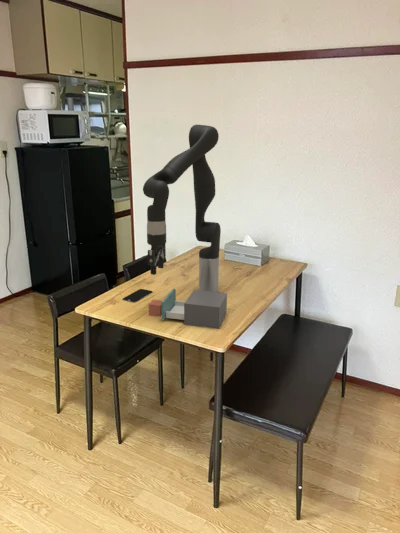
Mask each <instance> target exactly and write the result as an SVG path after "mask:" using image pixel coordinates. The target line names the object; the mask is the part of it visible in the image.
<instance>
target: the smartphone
mask: <svg viewBox="0 0 400 533" xmlns="http://www.w3.org/2000/svg"><path fill="white" fill-rule="evenodd" d="M152 293H154V291H152V290H150V289H144V288H139V289H137V290H136V291H133V292H132V293H130V294H128V295H126V296H124V297H123V298H122V301H124V302H129V303H133V304H134V303H135V304H137V302H140V301H141V300H143V299H144V298H146V297H148V296H151V294H152Z"/></svg>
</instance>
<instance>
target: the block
mask: <svg viewBox="0 0 400 533" xmlns="http://www.w3.org/2000/svg"><path fill="white" fill-rule="evenodd" d="M162 301H163V300H159V299H152V300H151V301H150V302H149V303H148V316H153V317H159V316H160V317H161V318H162V310H161V302H162Z"/></svg>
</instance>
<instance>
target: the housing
mask: <svg viewBox="0 0 400 533" xmlns="http://www.w3.org/2000/svg"><path fill="white" fill-rule="evenodd" d="M185 301H186V302H185V303H184V320H183V323H184V326H185V325H187V326H195V327H202V328H203V327H204V328H210V329H220V328H221V326H222V323H223V321H224V319H225V317H226V314H227V312H228V311H227V310H228V309H227V307H228V306H227V304H228V293H227V292H220V291H218V292H211V291H201V290H199V289H194V290H193V291H192V292H191V294H190V295H189V296H188V298H187V299H186V300H185Z"/></svg>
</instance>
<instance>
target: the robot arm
mask: <svg viewBox="0 0 400 533" xmlns="http://www.w3.org/2000/svg"><path fill="white" fill-rule="evenodd" d="M219 137H220V136H219V131H218V130H217V128H216V127H215V126H212V125H206V124H193V125H192V126H191V127H190V128H189V132H188V143H189V148H188V149H185V151H182V152H181V153H179V154H177V155H175V156H174V157H172V158H171V159H170V160H169V161H168V162H167V164H166V165H165V166H163V168H162V169H160V170H159V171H157V172H156V173H154V174H153V175H152V176H150V177H149V178H148V179H147V180H146V181H145V182H144V185H143V186H142V187H143V188H142V192H143V195H144V196H146V197H147V198H149V199H150V198H151V199H153V200H152V204H150V205H148V206H147V211H146V212H147V213H146V218H147V219H146V220H147V221H146V222H147V223H146V241H147V242H146V243H147V244H148V245H150V246H151V247H150V249H148V250H147V266H150V270H149V271H150V275H153V276H155V275H157V268H158V269H164V266H165V264H164V263H165V262H164V260H165V257H166V249H167V248H166V244H167V224H166V223H167V222H166V221H167V220H166V209H167V205H168V201H169V197H170V189H169V188H170V187H169V185H173V184H174V183H176V182H177V181H178V180H179V179H180V178H181V176H182V175H183V174H184V173H185V172H186V171H187V170H188V169H189V168H190V167H191V166H192V174H193V192H194V205H195V208H194V209H195V223H194V224H195V226H194V228H195V229H194V231H195V232H194V233H195V238H196V241H198V242H201V243H209V244H210V246H208V247H207V246H206V247H204V248H201V249H200V250H199V251H198V290H201V291H211V292H219V276H220V273H219V271H220V269H219V268H220V244H221V232H222V231H221V224H220V223H219V222H215V221H205V220H206V219H205V215H206V213H207V210H208V209H209V206H210V205H211V203H212V202H213V200H214V198H215V197H216V178H215V176H214V173H213V170H212V169H211V167H210V165H209V163H208V161H207V159H206V154H208V153H209V152H210V151H211V150H213V148H215V146H216V145H217V144H218V142H219Z"/></svg>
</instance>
